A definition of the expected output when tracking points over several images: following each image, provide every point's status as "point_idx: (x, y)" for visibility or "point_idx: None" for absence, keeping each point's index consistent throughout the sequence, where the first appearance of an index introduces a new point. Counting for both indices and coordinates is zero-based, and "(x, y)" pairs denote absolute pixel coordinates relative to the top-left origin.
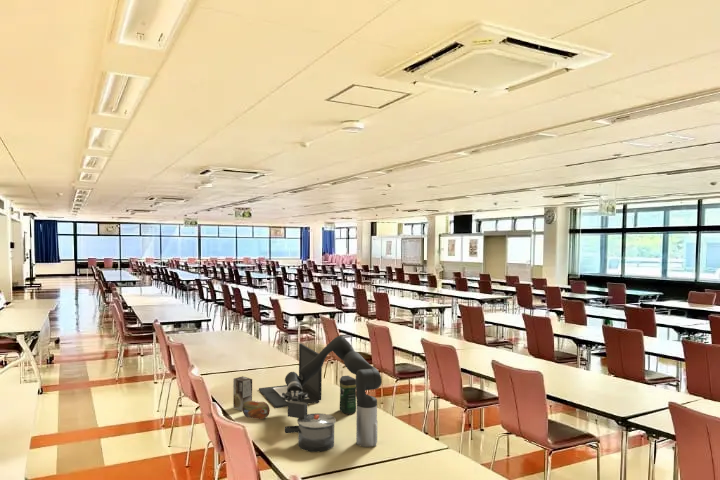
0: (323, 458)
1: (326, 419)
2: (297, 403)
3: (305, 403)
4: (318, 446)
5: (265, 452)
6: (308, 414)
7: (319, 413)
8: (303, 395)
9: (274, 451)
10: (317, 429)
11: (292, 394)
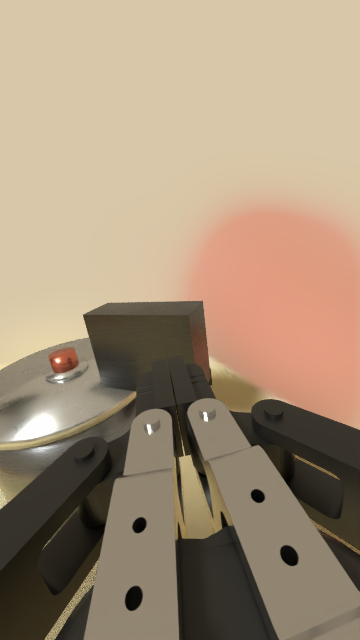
0: None
1: (21, 378)
2: (142, 303)
3: (96, 309)
4: None
5: (257, 387)
6: (86, 415)
7: (4, 439)
8: (9, 532)
9: (234, 395)
10: None
11: (235, 452)
